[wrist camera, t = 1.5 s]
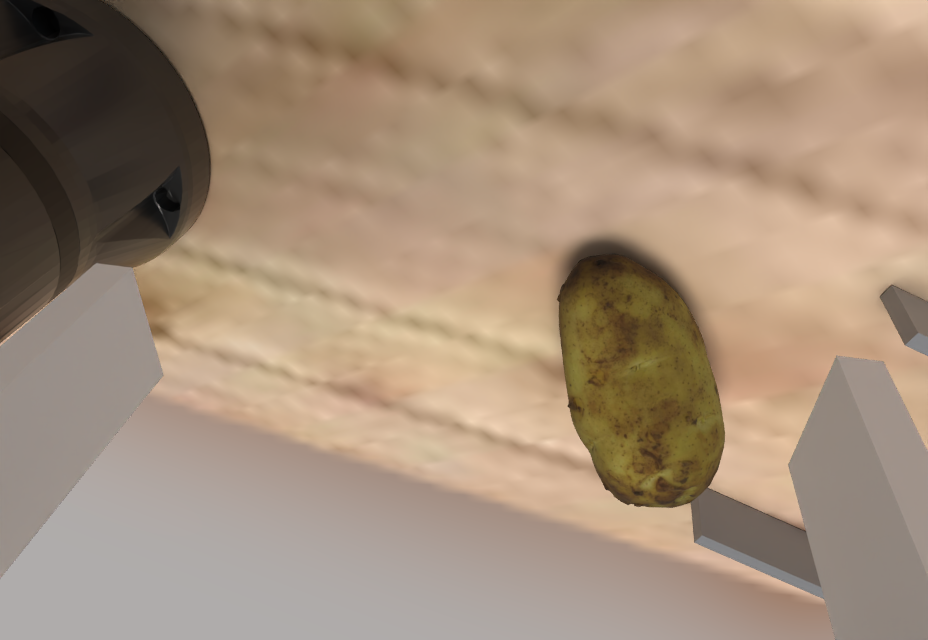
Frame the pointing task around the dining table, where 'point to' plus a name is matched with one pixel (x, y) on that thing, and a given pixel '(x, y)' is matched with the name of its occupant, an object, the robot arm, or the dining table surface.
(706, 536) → the box
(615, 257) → the potato
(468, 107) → the dining table surface
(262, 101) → the dining table surface
